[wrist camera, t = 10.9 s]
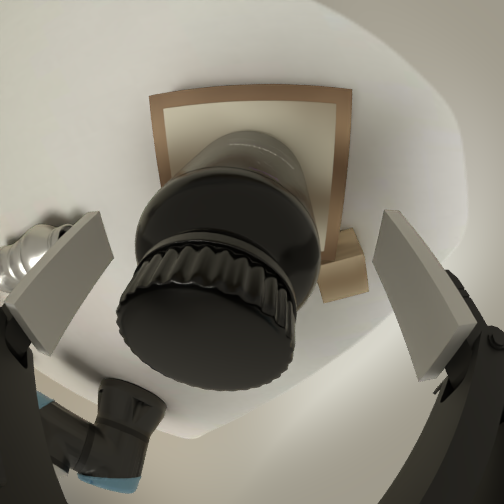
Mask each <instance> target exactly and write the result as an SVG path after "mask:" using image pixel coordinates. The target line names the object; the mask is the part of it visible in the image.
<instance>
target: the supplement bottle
mask: <svg viewBox="0 0 504 504" xmlns="http://www.w3.org/2000/svg"><path fill="white" fill-rule="evenodd" d="M135 254H136V261H137V265H138V266H137V268H136V270H135V272H134V275H133V278H132V279H131V281H130V283H129V284H128V286H127V287H126V289H125V291H124V292H123V294H122V296H121V298H120V301H119V305H118V307H117V310H116V313H117V317H118V318H117V321H116V323H117V325H118V326H119V328H120V329H119V333H120V334H121V335H122V337H123V338H124V342H125V343H126V344H127V345H128V346H129V347H130V349H131V351H132V352H133V353H134V354H135V355H137V356H138V357H139V358H140V359H141V361H142V362H144V363H146V364H147V365H149V366H150V367H151V368H152V369H154V370H156V371H158V372H160V373H161V374H163V375H164V376H166V377H169V378H172V379H174V380H176V381H177V382H181V383H185V384H187V385H190V386H193V387H199V388H202V389H207V390H216V391H237V390H248V389H250V388H257V387H260V386H262V385H264V384H268V383H271V382H272V380H274V379H276V378H279V377H280V376H281V373H283V372H285V371H286V370H287V369H288V364H289V363H291V362H292V359H293V351H294V348H295V322H296V316H297V311H298V310H299V309H300V308H301V307H302V306H303V305H304V304H305V302H306V301H307V300H308V298H309V297H310V295H311V294H312V292H313V290H314V288H315V286H316V283H317V280H318V277H319V273H320V268H321V248H320V240H319V235H318V230H317V226H316V221H315V217H314V213H313V208H312V204H311V200H310V196H309V192H308V188H307V184H306V180H305V177H304V174H303V171H302V168H301V166H300V163H299V161H298V160H297V158H296V157H295V155H294V154H293V152H292V151H291V150H290V149H289V148H288V147H287V146H286V145H285V144H283V143H282V142H281V141H279V140H277V139H276V138H274V137H272V136H270V135H267V134H264V133H260V132H255V131H239V132H233V133H229V134H227V135H224V136H222V137H220V138H218V139H216V140H215V141H213V142H212V143H210V144H209V145H208V146H206V147H205V148H204V149H203V150H202V151H201V152H199V153H198V154H197V155H196V156H195V157H194V158H193V159H192V160H190V161H189V162H188V163H187V164H186V165H185V166H184V167H183V168H182V169H181V170H179V171H178V172H177V173H176V174H175V175H174V176H173V177H172V178H171V179H170V180H169V181H168V182H167V183H166V184H165V185H164V186H163V187H162V188H161V189H160V190H159V191H158V192H157V193H156V194H155V195H154V197H153V198H152V199H151V200H150V202H149V203H148V204H147V206H146V207H145V209H144V211H143V213H142V215H141V217H140V220H139V223H138V226H137V230H136V237H135Z"/></svg>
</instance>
